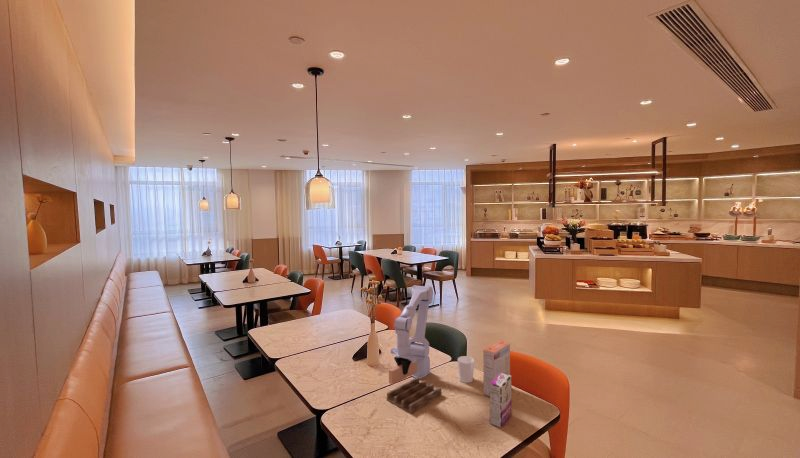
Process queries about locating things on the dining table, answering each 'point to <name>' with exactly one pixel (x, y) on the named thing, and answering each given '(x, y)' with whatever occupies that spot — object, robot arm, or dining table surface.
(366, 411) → the dining table surface
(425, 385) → the slatted brown panel
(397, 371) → the clay strip
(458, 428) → the dining table surface
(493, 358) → the cracker box
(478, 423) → the dining table surface
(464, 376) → the white cup
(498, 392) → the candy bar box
